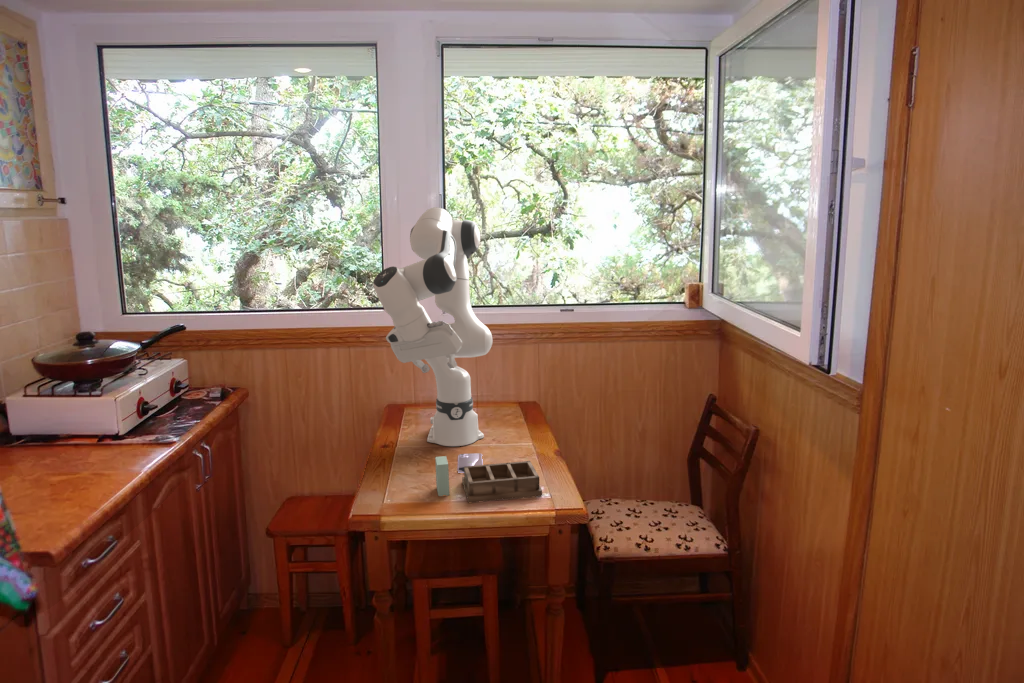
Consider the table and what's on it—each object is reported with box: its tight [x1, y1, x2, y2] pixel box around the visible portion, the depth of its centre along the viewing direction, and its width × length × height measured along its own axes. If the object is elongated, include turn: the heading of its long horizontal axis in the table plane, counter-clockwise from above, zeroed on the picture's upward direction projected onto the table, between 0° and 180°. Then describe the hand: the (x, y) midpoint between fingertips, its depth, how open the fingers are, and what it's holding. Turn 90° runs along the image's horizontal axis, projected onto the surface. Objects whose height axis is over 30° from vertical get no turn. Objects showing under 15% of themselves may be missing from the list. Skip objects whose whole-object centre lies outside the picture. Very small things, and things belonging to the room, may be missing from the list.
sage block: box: [435, 455, 450, 497], centre depth 196 cm, size 6×3×9 cm, turn 11°
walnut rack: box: [461, 460, 543, 503], centre depth 197 cm, size 14×20×5 cm
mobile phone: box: [457, 452, 484, 474], centre depth 216 cm, size 8×1×15 cm
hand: (440, 369), depth 189 cm, fingers open, 8 cm apart
